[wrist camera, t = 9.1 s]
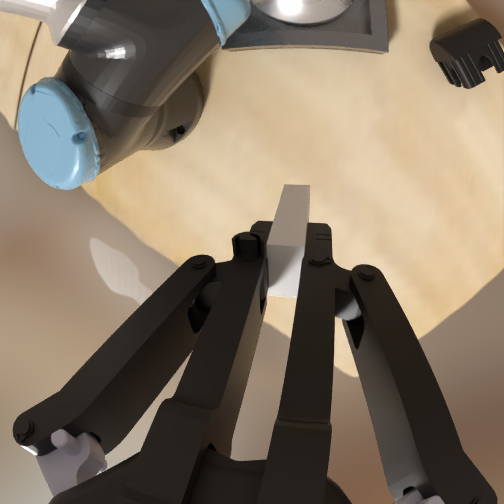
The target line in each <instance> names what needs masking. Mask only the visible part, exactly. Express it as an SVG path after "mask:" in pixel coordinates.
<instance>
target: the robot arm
mask: <svg viewBox="0 0 504 504" xmlns="http://www.w3.org/2000/svg"><path fill="white" fill-rule="evenodd" d="M0 11H2V12H6V13H11V14H15V15H19V16H23V17H27V18H31V19H35V20H38V21H42V22H45V23H46V24H47V26H48V27H49V31H50V34H51V37H52V41H53V44H54V45H57V46H60V47H63V48H66V49H69V52H68V53H67V55H66V57H65V59H64V60H63V62H62V64H61V66H60V68H59V70H58V71H57V73H56V75H55V76H54V77H48V78H43V79H41V80H40V81H39V82H38V83H35V84H33V85H32V86H31V87H30V88H29V89H28V90H27V91H26V93H25V94H24V96H23V98H22V101H21V104H20V108H19V113H18V132H19V138H20V141H21V145H22V149H23V152H24V154H25V156H26V159H27V161H28V162H29V164H30V166H31V167H32V169H33V170H34V172H35V173H36V174H37V175H38V176H39V177H40V178H41V179H42V180H43V181H44V182H45V183H47V184H48V185H50V186H52V187H54V188H59V189H60V188H61V189H64V190H69V189H73V188H76V187H78V186H80V185H82V184H84V183H86V182H90V181H92V180H93V179H94V178H95V177H96V176H97V175H99V174H100V173H102V172H104V171H105V170H107V169H108V168H110V167H112V166H113V165H115V164H117V163H118V162H120V161H122V160H123V159H125V158H127V157H128V156H130V155H132V154H134V153H135V152H137V151H139V150H152V151H154V150H162V149H165V148H168V147H171V146H173V145H175V144H176V143H178V142H180V141H182V140H183V139H184V138H186V137H187V136H188V135H189V134H190V133H191V132H192V131H193V129H194V128H195V126H196V125H197V123H198V121H199V118H200V116H201V112H202V108H203V91H202V86H201V83H200V80H199V78H198V76H197V74H196V73H195V71H194V70H195V69H196V68H197V67H198V66H199V65H200V64H201V63H202V62H203V61H204V60H205V59H206V58H207V57H208V56H209V55H211V54H212V53H213V52H214V51H215V50H216V49H217V48H218V47H219V46H220V45H221V46H223V45H224V44H225V43H226V39H227V38H228V37H229V36H230V35H231V34H232V33H233V32H234V31H235V30H236V29H237V28H239V27H240V26H241V25H242V24H243V23H244V22H245V21H246V20H247V19H248V17H249V15H250V12H251V5H250V1H249V0H0ZM309 205H310V185H288V184H284V188H283V191H282V194H281V198H280V201H279V204H278V208H277V211H276V214H275V218H274V221H257V222H256V223H255V224H254V225H252V227H251V230H250V232H242V233H239V234H237V235H235V236H234V237H233V238H232V245H233V253H234V256H233V259H232V260H230V261H226V262H220V263H215V260H214V259H213V258H212V257H211V256H209V255H196V256H193V257H191V258H189V259H188V260H187V261H186V262H185V263H184V264H182V265H181V266H180V267H179V268H178V269H177V270H176V271H175V272H174V273H173V274H172V275H171V276H170V277H169V278H168V279H167V280H166V281H165V282H164V283H163V284H162V285H161V286H160V287H159V288H158V289H157V290H156V291H155V292H154V293H153V294H152V295H151V296H150V297H149V298H148V299H147V300H146V301H145V302H144V303H143V304H142V305H141V306H140V307H139V308H138V309H137V310H136V311H135V312H134V313H133V314H132V315H131V316H130V317H129V318H128V319H127V320H126V321H125V322H124V323H123V324H122V325H121V326H120V327H119V328H118V329H117V330H116V331H115V332H114V333H113V335H111V337H109V339H108V340H107V341H106V342H105V343H104V344H103V345H102V346H101V347H100V348H99V349H98V350H97V351H96V352H95V353H94V354H93V355H92V356H91V357H90V359H89V360H88V361H87V362H86V363H85V364H84V365H83V366H82V367H81V368H80V369H79V370H78V371H77V373H76V374H75V375H74V376H73V377H72V378H71V379H70V380H69V381H68V383H66V385H65V386H64V387H63V388H62V389H61V390H60V391H59V392H57V393H55V394H54V395H52V396H50V397H49V398H47V399H45V400H44V401H42V402H40V403H39V404H37V405H35V406H34V407H32V408H30V409H28V410H27V411H25V412H24V413H22V414H21V415H19V416H18V417H17V419H16V420H15V422H14V425H13V436H14V438H15V440H16V442H17V443H18V444H20V445H21V446H22V447H24V448H25V449H27V450H28V451H30V452H31V453H33V454H34V455H35V456H36V458H37V461H38V463H39V466H40V468H41V471H42V473H43V475H44V477H45V480H46V482H47V484H48V486H49V488H50V490H51V492H52V494H53V496H54V497H53V498H52V500H51V501H50V503H49V504H352V503H351V502H350V500H349V499H348V497H347V496H346V495H345V493H344V492H343V490H342V489H341V488H340V487H339V486H338V485H337V484H336V483H335V482H334V481H333V480H331V479H330V478H329V477H327V471H328V463H329V454H330V444H331V434H332V426H331V423H330V412H331V400H332V384H333V366H334V334H335V317H338V318H341V319H342V323H343V326H344V329H345V332H346V335H347V338H348V342H349V345H350V348H351V351H352V354H353V357H354V361H355V364H356V367H357V371H358V374H359V377H360V381H361V384H362V388H363V391H364V395H365V398H366V401H367V405H368V409H369V413H370V416H371V420H372V424H373V428H374V432H375V436H376V440H377V444H378V448H379V452H380V456H381V461H382V464H383V469H384V474H385V477H386V481H387V484H388V488H389V490H390V492H391V495H392V497H393V499H394V500H395V503H394V504H497V496H496V494H495V492H494V490H493V489H492V487H491V486H490V485H489V483H488V482H487V481H486V479H485V478H484V477H483V475H482V474H481V473H480V472H479V471H478V469H477V468H476V467H475V465H474V464H473V463H472V461H471V460H470V459H469V457H468V456H467V455H466V454H465V453H464V451H463V449H462V446H461V443H460V440H459V437H458V434H457V431H456V429H455V426H454V423H453V420H452V418H451V415H450V412H449V410H448V407H447V405H446V402H445V400H444V397H443V395H442V392H441V390H440V387H439V385H438V383H437V381H436V378H435V376H434V373H433V372H432V369H431V367H430V365H429V363H428V360H427V358H426V356H425V354H424V352H423V350H422V347H421V345H420V343H419V341H418V339H417V337H416V335H415V333H414V331H413V329H412V327H411V325H410V323H409V321H408V319H407V317H406V315H405V313H404V312H403V310H402V308H401V306H400V304H399V302H398V300H397V299H396V297H395V295H394V293H393V291H392V289H391V288H390V286H389V284H388V282H387V281H386V279H385V277H384V275H383V274H382V272H381V271H380V270H379V269H378V268H376V267H374V266H371V265H365V264H361V265H357V266H355V267H354V268H353V269H352V271H350V270H346V269H344V268H341V267H339V266H338V265H337V264H336V263H335V262H334V260H333V257H332V233H331V228H330V227H329V226H328V224H325V223H309ZM267 291H268V294H269V296H280V297H292V298H297V302H296V309H295V316H294V323H293V329H292V336H291V342H290V349H289V355H288V361H287V367H286V372H285V378H284V384H283V389H282V395H281V400H280V406H279V411H278V415H277V419H276V421H275V424H274V428H273V433H272V438H271V443H270V447H269V452H268V456H267V459H266V460H253V461H235V460H233V459H230V455H231V447H232V438H233V433H234V430H235V426H236V422H237V419H238V415H239V411H240V408H241V404H242V400H243V396H244V392H245V389H246V385H247V381H248V377H249V373H250V369H251V366H252V361H253V358H254V354H255V350H256V346H257V342H258V338H259V334H260V329H261V326H262V322H263V318H264V314H265V309H266V305H267ZM192 350H193V352H192ZM191 352H192V354H191V356H190V358H189V361H188V363H187V366H186V368H185V370H184V373H183V375H182V377H181V380H180V382H179V385H178V387H177V390H176V392H175V394H174V396H173V397H172V398H169V399H165V400H164V401H163V402H162V403H161V405H160V407H159V408H158V411H157V413H156V415H155V418H154V420H153V422H152V425H151V427H150V429H149V432H148V434H147V437H146V439H145V442H144V444H143V446H142V448H141V451H140V452H138V453H136V454H135V455H133V456H131V457H130V458H128V459H126V460H124V461H122V462H121V463H119V464H117V465H115V466H114V467H112V468H110V469H108V470H106V471H104V470H105V469H106V468H107V462H106V460H105V455H106V454H107V453H109V452H110V451H112V450H113V449H114V448H115V447H116V446H117V445H118V444H120V443H121V441H122V440H123V439H124V438H125V437H126V436H127V434H128V433H129V432H130V431H131V430H132V428H133V427H134V426H135V424H136V423H137V422H138V421H139V419H140V418H141V417H142V415H143V414H144V413H145V411H146V410H147V409H148V408H149V406H150V405H151V404H152V403H153V401H154V400H155V398H156V397H157V396H158V395H159V394H160V392H161V391H162V389H163V388H164V387H165V386H166V384H167V383H168V382H169V380H170V379H171V378H172V377H173V375H174V374H175V373H176V371H177V370H178V369H179V367H180V366H181V365H182V364H183V362H184V361H185V360H186V358H187V357H188V356H189V354H190V353H191ZM103 471H104V472H103ZM98 472H102V473H100V474H98V475H96V474H97V473H98ZM95 475H96V476H95Z"/></svg>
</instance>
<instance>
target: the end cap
mask: <svg viewBox="0 0 504 504" xmlns="http://www.w3.org/2000/svg"><path fill="white" fill-rule="evenodd" d="M500 38H502V37H501V35H500V33H499V32H498V31H497V29H496V28H495V27H494V26H493V25H492V24H491V23H489V22H488V21H486V20H484V19H476V20H474V21H471V22H469V23H467V24H465V25H463V26H460V27H458V28H456V29H454V30H452V31H450V32H448V33H446V34H443V35H441V36H439V37H437V38H435V39H433V40H432V41H431V42H430V50H431V53H432V55H433V57H434V59H435V61H436V62H438V64H439V66H440V67H441V69H442V71H443V73H444V74H445V76H446V78H447V80H448V81H449V83H450V84H452V85H455V86H456V87H461V83H462V85H463V87H464V88H466V89H471V88H473V87H475V86H477V85H479V84H480V83H482V82H484V81H486V80H485V78H484V76H483V74H482V72H481V71H485V70H487V69H489V68H491V67H492V66H494V67H495V69H496V71H497V73H501V72H502V71H504V52H503V50H502V48H501V46H500V44H499V42H498V39H500Z"/></svg>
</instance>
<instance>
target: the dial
mask: <svg viewBox="0 0 504 504" xmlns="http://www.w3.org/2000/svg"><path fill="white" fill-rule="evenodd" d="M250 1H251V2H252V3H253V4H254V5H255V6H256V7H257V8H258V9H259V10H260V11H261V12H263V13H264V14H265V15H267V16H269V17H270V18H272V19H274V20H277V21H279V22H282V23H286V24H290V25H295V26H315V25H320V24H324V23H327V22H330V21H333V20H335V19H337V18H338V17H340V16H341V15H343V14H344V13H345V12H346V11H347V10H348V9H349V8H350V6H351V5H352V3H353V1H354V0H250Z"/></svg>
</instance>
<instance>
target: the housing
mask: <svg viewBox="0 0 504 504" xmlns="http://www.w3.org/2000/svg"><path fill="white" fill-rule="evenodd" d="M249 1H250V0H249ZM250 5H251V12H250V15H249V17H248V19H247V20H246V21H245V22H244V23H243V24H242V25H241V26H240V27H239V28H237V29H236V30H235V31H234V32H233V33H232V34H231V35H230V36H229V37H228V38H227V39H226V43H225V44H224V45H223V46H222V50H226V51H231V52H232V51H242V50H255V49H276V48H315V49H336V50H349V51H359V52H368V53H376V54H384V53H388V52H389V50H388V29H387V15H386V4H385V0H354V1H353V3H352V5H351V6H350V8H349V9H348V10H347V11H346V12H345V13H344V14H343V15H341V16H340V17H338V18H337V19H335V20H333V21H330V22H327V23H324V24H320V25H315V26H295V25H290V24H286V23H282V22H279V21H277V20H274V19H272V18H270V17H269V16H267V15H265V14H264V13H263V12H261V11H260V10H259V9H258V8H257V7H256V6H255V5H254V4H253V3H252V2H251V1H250Z"/></svg>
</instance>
